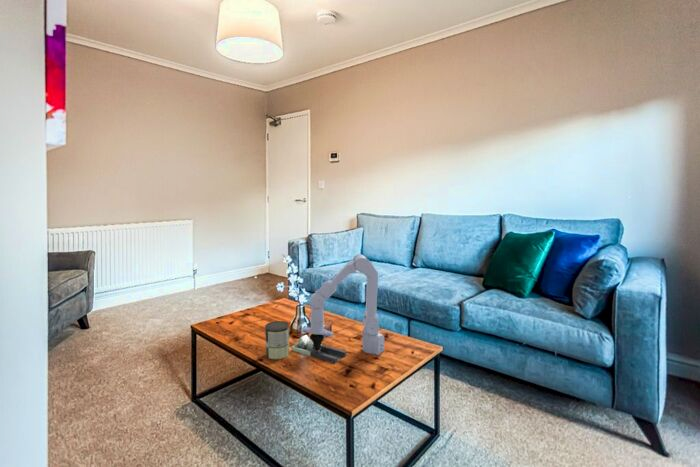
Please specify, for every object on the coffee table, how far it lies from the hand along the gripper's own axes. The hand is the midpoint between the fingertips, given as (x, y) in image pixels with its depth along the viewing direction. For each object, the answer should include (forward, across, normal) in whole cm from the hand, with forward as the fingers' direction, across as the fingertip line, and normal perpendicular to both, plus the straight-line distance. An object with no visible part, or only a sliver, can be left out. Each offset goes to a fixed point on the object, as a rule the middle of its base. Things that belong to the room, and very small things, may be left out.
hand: (317, 350), depth 164 cm
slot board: (+2, -6, +1) cm, 6 cm away
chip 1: (0, +10, -2) cm, 10 cm away
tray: (+2, +6, -1) cm, 6 cm away
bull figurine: (+2, +5, -16) cm, 17 cm away
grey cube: (+1, +3, -1) cm, 4 cm away
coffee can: (+2, +15, +9) cm, 18 cm away
